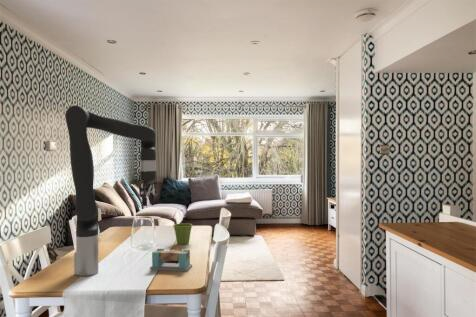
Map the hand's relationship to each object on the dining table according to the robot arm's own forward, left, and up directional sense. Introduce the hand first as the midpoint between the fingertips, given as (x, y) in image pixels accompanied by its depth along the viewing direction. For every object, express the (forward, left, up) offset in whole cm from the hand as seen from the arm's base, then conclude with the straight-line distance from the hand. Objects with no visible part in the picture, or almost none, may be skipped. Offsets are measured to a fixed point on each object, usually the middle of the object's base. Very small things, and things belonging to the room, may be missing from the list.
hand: (148, 204), depth 170 cm
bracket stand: (+10, +3, -30) cm, 32 cm away
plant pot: (0, +51, -30) cm, 59 cm away
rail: (+10, +3, -26) cm, 28 cm away
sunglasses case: (+5, +18, -31) cm, 36 cm away
